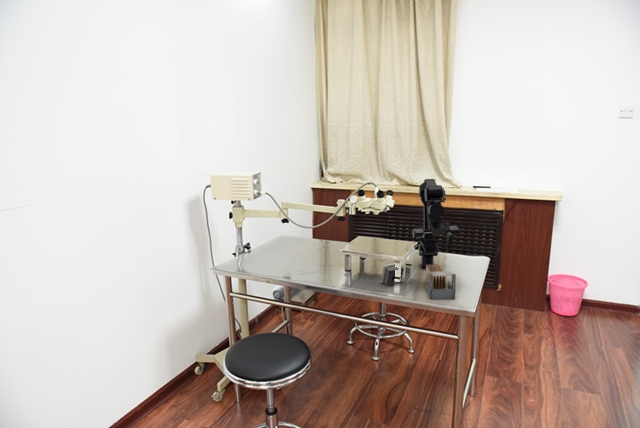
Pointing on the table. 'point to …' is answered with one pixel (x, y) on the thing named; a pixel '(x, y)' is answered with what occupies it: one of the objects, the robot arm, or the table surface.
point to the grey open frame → (441, 293)
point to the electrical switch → (390, 273)
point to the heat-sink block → (438, 281)
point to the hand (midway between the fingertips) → (436, 251)
